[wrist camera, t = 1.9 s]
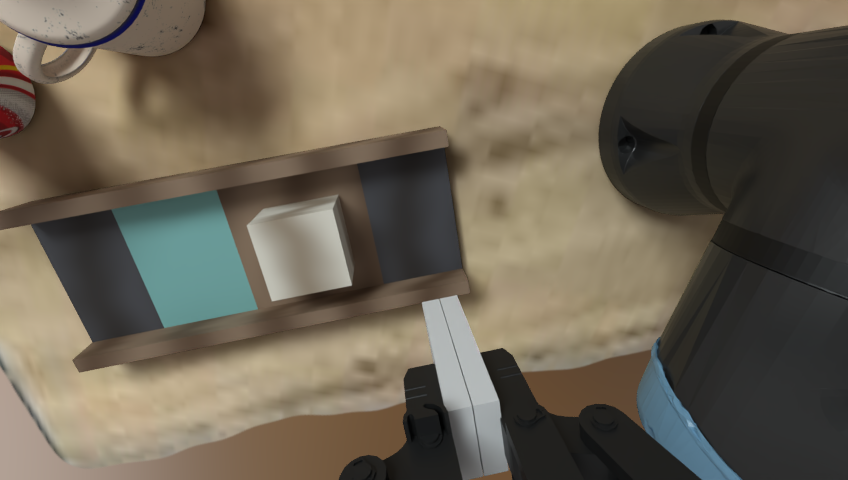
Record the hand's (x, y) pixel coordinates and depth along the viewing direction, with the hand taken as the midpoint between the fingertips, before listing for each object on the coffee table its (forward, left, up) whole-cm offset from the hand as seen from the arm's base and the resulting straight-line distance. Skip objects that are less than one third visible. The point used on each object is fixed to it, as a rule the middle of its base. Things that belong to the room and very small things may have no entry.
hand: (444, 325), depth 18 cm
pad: (+14, +12, -18) cm, 26 cm away
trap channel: (+9, +8, -18) cm, 22 cm away
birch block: (+6, +6, -17) cm, 19 cm away
